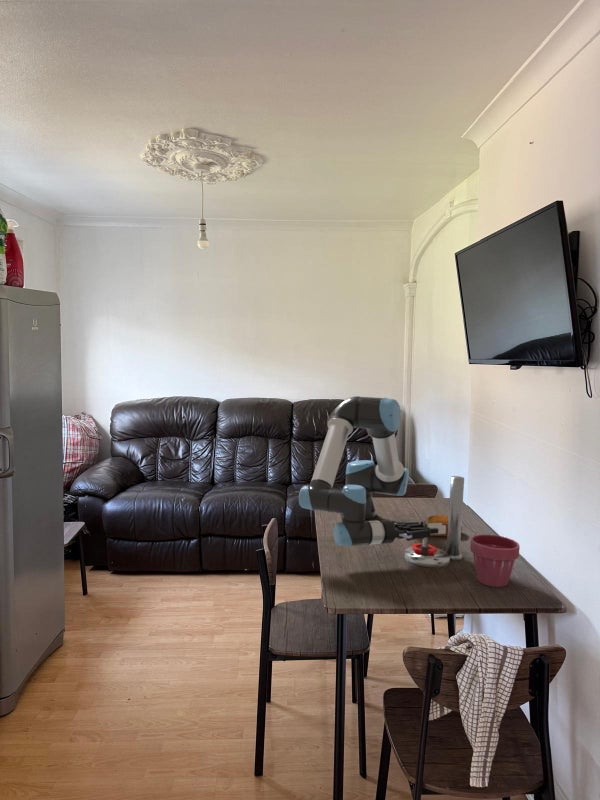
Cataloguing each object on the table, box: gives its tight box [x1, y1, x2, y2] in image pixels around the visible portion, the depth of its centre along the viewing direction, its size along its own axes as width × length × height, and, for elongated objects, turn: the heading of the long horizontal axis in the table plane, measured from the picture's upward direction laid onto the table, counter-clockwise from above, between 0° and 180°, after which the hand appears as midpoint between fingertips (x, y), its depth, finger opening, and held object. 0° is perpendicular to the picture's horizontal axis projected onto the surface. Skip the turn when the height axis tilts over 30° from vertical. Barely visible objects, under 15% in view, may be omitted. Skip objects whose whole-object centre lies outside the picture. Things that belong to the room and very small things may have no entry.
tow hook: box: [411, 516, 437, 555], centre depth 194 cm, size 8×13×9 cm
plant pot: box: [469, 533, 521, 588], centre depth 175 cm, size 14×14×13 cm
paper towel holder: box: [404, 475, 465, 569], centre depth 192 cm, size 15×21×28 cm
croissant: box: [423, 514, 463, 537], centre depth 222 cm, size 14×16×8 cm
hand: (443, 528), depth 193 cm, fingers closed
